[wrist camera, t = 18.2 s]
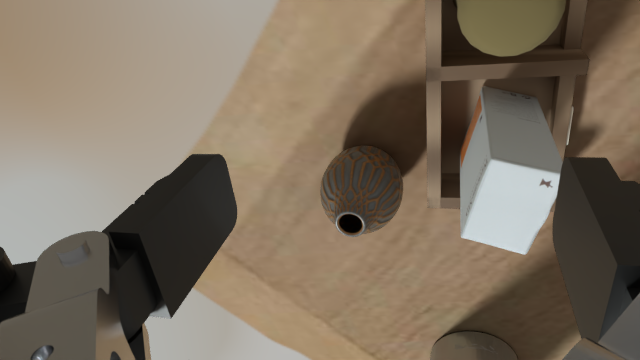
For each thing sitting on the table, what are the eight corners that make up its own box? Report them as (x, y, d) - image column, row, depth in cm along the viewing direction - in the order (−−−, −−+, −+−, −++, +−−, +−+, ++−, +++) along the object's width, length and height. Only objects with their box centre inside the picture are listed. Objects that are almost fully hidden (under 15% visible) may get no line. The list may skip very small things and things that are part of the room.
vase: (401, 131, 39) (389, 182, 32) (410, 199, 42) (401, 260, 35) (324, 137, 41) (297, 187, 34) (338, 201, 44) (316, 260, 37)
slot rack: (556, 181, 38) (567, 211, 34) (429, 179, 41) (427, 207, 37) (602, -138, 27) (627, -144, 23) (427, -111, 30) (424, -113, 26)
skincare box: (480, 83, 35) (491, 154, 25) (537, 95, 34) (572, 173, 24) (457, 152, 38) (458, 239, 28) (508, 164, 38) (529, 257, 28)
